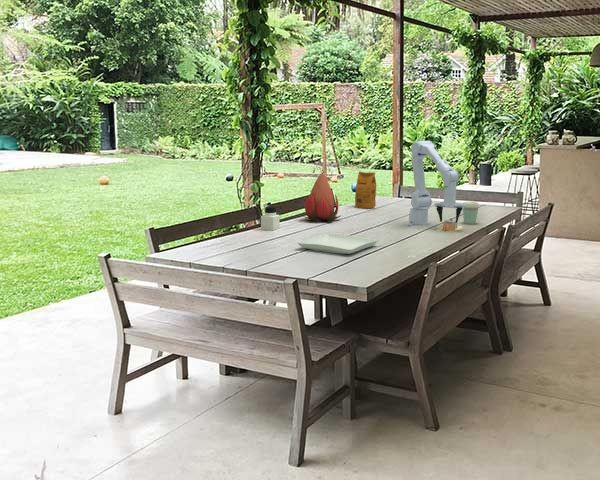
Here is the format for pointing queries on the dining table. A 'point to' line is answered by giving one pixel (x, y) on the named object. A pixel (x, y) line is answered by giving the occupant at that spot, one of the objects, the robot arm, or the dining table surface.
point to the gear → (452, 221)
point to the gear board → (450, 231)
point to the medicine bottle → (270, 219)
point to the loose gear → (449, 226)
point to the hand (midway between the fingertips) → (448, 222)
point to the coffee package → (365, 191)
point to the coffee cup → (470, 212)
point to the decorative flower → (321, 201)
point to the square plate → (337, 243)
